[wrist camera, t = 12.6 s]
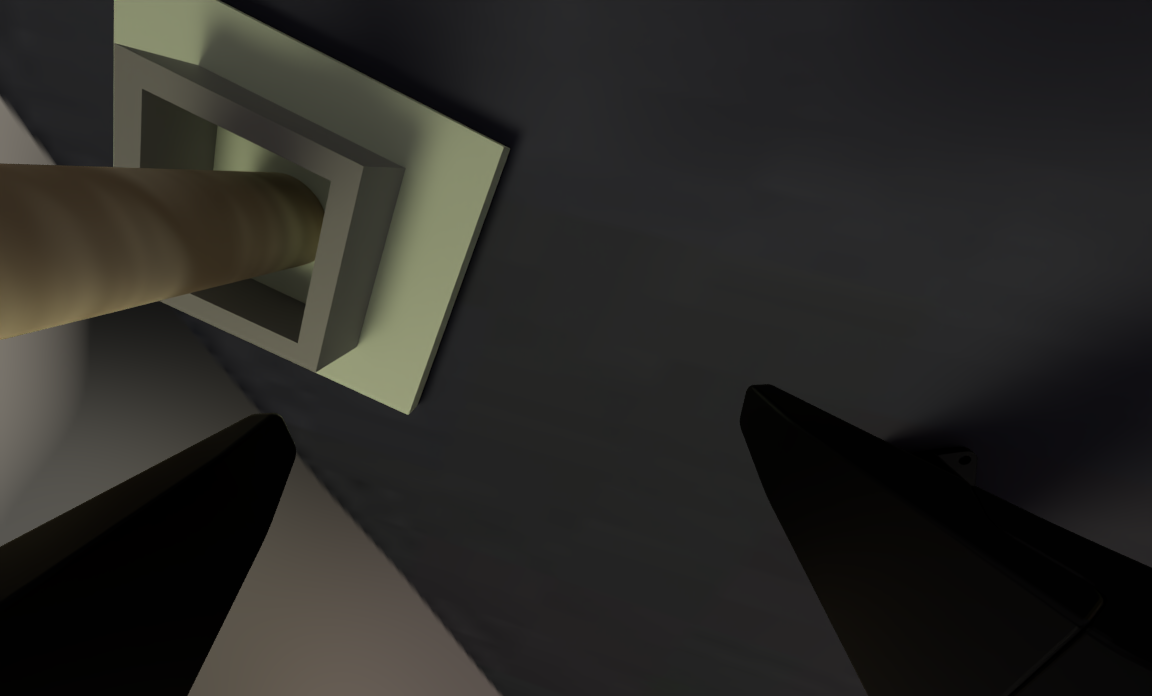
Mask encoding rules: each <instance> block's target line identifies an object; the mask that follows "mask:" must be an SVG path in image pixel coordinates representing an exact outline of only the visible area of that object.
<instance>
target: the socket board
mask: <svg viewBox="0 0 1152 696" xmlns="http://www.w3.org/2000/svg"><path fill="white" fill-rule="evenodd" d="M509 151H510V148H508V147H506V146H504V145H502V144H500V143H499V142H497V141H495V140H493V139H491V138H489V137H487V136H485V135H483V134H481V133H479V132H477V131H475V130H473V129H471V128H469V127H467V126H465V125H463V124H461V123H459V122H457V121H455V120H453V119H451V118H449V117H448V116H446V115H444V114H442V113H440V112H438V111H436V110H434V109H432V108H430V107H428V106H426V105H424V104H422V103H420V102H418V101H416V100H414V99H412V98H410V97H408V96H406V95H404V94H402V93H400V92H398V91H396V90H395V89H393V88H391V87H389V86H387V85H385V84H383V83H381V82H379V81H377V80H375V79H373V78H371V77H369V76H367V75H365V74H363V73H361V72H359V71H357V70H355V69H353V68H351V67H349V66H347V65H345V64H344V63H342V62H340V61H338V60H336V59H334V58H332V57H330V56H328V55H326V54H324V53H322V52H320V51H318V50H316V49H314V48H312V47H310V46H308V45H306V44H304V43H302V42H300V41H298V40H296V39H294V38H292V37H291V36H289V35H287V34H285V33H283V32H281V31H279V30H277V29H275V28H273V27H271V26H269V25H267V24H265V23H263V22H261V21H259V20H257V19H255V18H253V17H251V16H249V15H247V14H245V13H243V12H241V11H240V10H238V9H236V8H234V7H232V6H230V5H228V4H226V3H224V2H222V1H220V0H114V167H123V168H154V169H186V170H217V171H248V172H278V173H284V174H287V175H290V176H292V177H295V178H296V179H298V180H300V181H301V182H302V183H304V184H305V185H306V186H307V187H308V188H309V189H310V190H311V191H312V192H313V193H314V194H315V196H316V197H317V198H318V200H319V201H320V203H321V205H322V207H323V209H324V211H325V213H324V218H323V223H322V228H321V233H320V238H319V242H318V247H317V252H316V257H315V261H313V262H311V263H309V264H305V265H302V266H298V267H293V268H289V269H285V270H281V271H277V272H273V273H269V274H265V275H261V276H257V277H253V278H249V279H245V280H241V281H237V282H233V283H229V284H225V285H221V286H217V287H213V288H209V289H205V290H201V291H197V292H192V293H188V294H184V295H180V296H176V297H172V298H168V299H164V300H160V301H161V302H163V303H165V304H167V305H169V306H172V307H174V308H176V309H178V310H180V311H183V312H185V313H187V314H189V315H191V316H193V317H196V318H198V319H200V320H202V321H204V322H206V323H209V324H211V325H213V326H215V327H217V328H220V329H222V330H224V331H226V332H228V333H230V334H233V335H235V336H237V337H239V338H241V339H244V340H246V341H248V342H250V343H252V344H254V345H257V346H259V347H261V348H263V349H265V350H268V351H270V352H272V353H274V354H276V355H278V356H281V357H283V358H285V359H287V360H289V361H291V362H294V363H296V364H298V365H300V366H302V367H305V368H307V369H309V370H311V371H313V372H315V373H318V374H320V375H322V376H324V377H326V378H329V379H331V380H333V381H335V382H337V383H340V384H342V385H344V386H346V387H348V388H350V389H353V390H355V391H357V392H359V393H361V394H364V395H366V396H368V397H370V398H372V399H374V400H377V401H379V402H381V403H383V404H385V405H387V406H390V407H392V408H394V409H396V410H398V411H401V412H403V413H405V414H407V415H409V414H410V413H411V412H412V411H413V410H414V409H415V408H416V407H417V405H418V402H419V400H420V397H421V394H422V391H423V389H424V386H425V383H426V380H427V378H428V375H429V372H430V369H431V367H432V364H433V361H434V358H435V355H436V353H437V350H438V347H439V344H440V342H441V339H442V336H443V333H444V331H445V328H446V325H447V322H448V320H449V317H450V314H451V311H452V309H453V306H454V303H455V300H456V298H457V295H458V292H459V289H460V286H461V284H462V281H463V278H464V275H465V273H466V270H467V267H468V264H469V262H470V259H471V256H472V253H473V251H474V248H475V245H476V242H477V240H478V237H479V234H480V231H481V229H482V226H483V223H484V220H485V217H486V215H487V212H488V209H489V206H490V204H491V201H492V198H493V195H494V193H495V190H496V187H497V184H498V182H499V179H500V176H501V173H502V171H503V168H504V165H505V162H506V160H507V157H508V154H509Z"/></svg>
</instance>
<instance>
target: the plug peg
mask: <svg viewBox="0 0 1152 696" xmlns="http://www.w3.org/2000/svg"><path fill="white" fill-rule="evenodd" d="M324 213H325V211H324V209H323V207H322V205H321V203H320V201H319V200H318V198H317V197H316V196H315V194H314V193H313V192H312V191H311V190H310V189H309V188H308V187H307V186H306V185H305V184H304V183H302V182H301V181H300V180H298V179H296V178H295V177H292V176H290V175H287V174H284V173H278V172H248V171H217V170H186V169H154V168H123V167H92V166H60V165H28V164H0V340H2V339H7V338H11V337H15V336H19V335H23V334H27V333H30V332H35V331H39V330H43V329H47V328H51V327H55V326H59V325H63V324H67V323H71V322H75V321H79V320H83V319H87V318H91V317H95V316H99V315H104V314H107V313H112V312H116V311H120V310H124V309H128V308H132V307H136V306H140V305H144V304H148V303H152V302H156V301H160V300H164V299H168V298H172V297H176V296H180V295H184V294H188V293H192V292H197V291H201V290H205V289H209V288H213V287H217V286H221V285H225V284H229V283H233V282H237V281H241V280H245V279H249V278H253V277H257V276H261V275H265V274H269V273H273V272H277V271H281V270H285V269H289V268H293V267H298V266H302V265H305V264H309V263H311V262H313V261H315V257H316V252H317V247H318V242H319V238H320V233H321V228H322V223H323V218H324Z"/></svg>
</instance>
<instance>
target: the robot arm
mask: <svg viewBox="0 0 1152 696" xmlns="http://www.w3.org/2000/svg"><path fill="white" fill-rule="evenodd" d="M740 426H741V430H742V433H743V435H744V438H745V441H746V443H747V446H748V449H749V451H750V454H751V456H752V459H753V462H754V464H755V467H756V470H757V472H758V475H759V478H760V480H761V483H762V485H763V488H764V490H765V493H766V495H767V497H768V499H769V501H770V504H771V506H772V508H773V510H774V512H775V514H776V516H777V518H778V519H779V521H780V523H781V525H782V527H783V529H784V531H785V533H786V535H787V537H788V539H789V541H790V543H791V545H792V547H793V549H794V551H795V553H796V555H797V557H798V559H799V561H800V563H801V565H802V567H803V569H804V571H805V573H806V575H807V576H808V578H809V580H810V582H811V584H812V586H813V588H814V590H815V592H816V594H817V596H818V598H819V600H820V602H821V604H822V606H823V608H824V610H825V612H826V614H827V616H828V618H829V620H830V622H831V624H832V626H833V628H834V630H835V632H836V634H837V635H838V637H839V639H840V641H841V643H842V645H843V647H844V649H845V651H846V653H847V655H848V657H849V659H850V661H851V663H852V665H853V667H854V669H855V671H856V673H857V675H858V677H859V679H860V681H861V683H862V685H863V687H864V689H865V691H866V693H867V694H868V696H1152V568H1151V567H1149V566H1147V565H1144V564H1142V563H1140V562H1138V561H1135V560H1133V559H1131V558H1129V557H1126V556H1124V555H1122V554H1120V553H1117V552H1115V551H1113V550H1111V549H1108V548H1106V547H1104V546H1102V545H1099V544H1097V543H1095V542H1093V541H1091V540H1088V539H1086V538H1084V537H1082V536H1080V535H1077V534H1075V533H1073V532H1071V531H1069V530H1066V529H1064V528H1062V527H1060V526H1058V525H1055V524H1053V523H1051V522H1049V521H1047V520H1045V519H1043V518H1040V517H1038V516H1036V515H1034V514H1032V513H1030V512H1028V511H1026V510H1024V509H1022V508H1020V507H1018V506H1016V505H1013V504H1011V503H1009V502H1007V501H1005V500H1003V499H1001V498H999V497H997V496H995V495H993V494H991V493H989V492H987V491H985V490H983V489H981V488H979V487H977V486H975V481H976V468H977V456H976V455H975V453H973V452H972V451H971V450H970V449H968V448H966V447H952V448H944V449H937V450H929V451H921V452H914V453H908V452H906V451H904V450H902V449H900V448H898V447H896V446H894V445H892V444H890V443H888V442H886V441H884V440H882V439H880V438H878V437H876V436H874V435H872V434H870V433H868V432H866V431H864V430H862V429H860V428H858V427H856V426H854V425H852V424H849V423H847V422H845V421H843V420H841V419H839V418H837V417H835V416H833V415H831V414H829V413H827V412H825V411H823V410H821V409H819V408H817V407H815V406H813V405H811V404H809V403H807V402H805V401H803V400H801V399H799V398H797V397H795V396H793V395H791V394H789V393H787V392H785V391H783V390H781V389H779V388H777V387H775V386H773V385H770V384H764V385H752V386H750V387H749V388H748V389H747V391H746V395H745V399H744V403H743V407H742V412H741V416H740ZM295 456H296V447H295V444H294V442H293V439H292V437H291V435H290V433H289V431H288V428H287V426H286V424H285V422H284V420H283V418H282V417H281V416H280V415H279V414H277V413H262V414H253V415H250V416H248V417H247V418H244V419H242V420H240V421H239V422H237V423H235V424H233V425H231V426H229V427H227V428H225V429H223V430H222V431H220V432H218V433H216V434H214V435H212V436H210V437H208V438H206V439H204V440H202V441H200V442H199V443H197V444H195V445H193V446H191V447H189V448H187V449H185V450H183V451H182V452H180V453H178V454H176V455H174V456H172V457H170V458H168V459H167V460H164V461H162V462H161V463H159V464H157V465H155V466H153V467H151V468H149V469H147V470H145V471H143V472H141V473H140V474H138V475H136V476H134V477H132V478H130V479H128V480H126V481H125V482H123V483H121V484H119V485H117V486H115V487H113V488H111V489H109V490H107V491H105V492H103V493H101V494H100V495H98V496H96V497H94V498H92V499H90V500H88V501H86V502H84V503H83V504H81V505H79V506H77V507H75V508H73V509H71V510H69V511H67V512H65V513H63V514H62V515H60V516H58V517H56V518H54V519H52V520H50V521H48V522H46V523H44V524H42V525H41V526H39V527H37V528H35V529H33V530H31V531H29V532H27V533H25V534H23V535H22V536H20V537H18V538H16V539H14V540H12V541H10V542H8V543H6V544H4V545H3V546H1V547H0V696H188V694H189V691H190V690H191V687H192V685H193V684H194V681H195V679H196V677H197V675H198V673H199V671H200V669H201V667H202V665H203V663H204V661H205V659H206V657H207V655H208V653H209V651H210V649H211V647H212V645H213V643H214V641H215V639H216V637H217V635H218V633H219V631H220V628H221V627H222V625H223V623H224V620H225V619H226V617H227V614H228V613H229V611H230V609H231V606H232V604H233V602H234V600H235V598H236V596H237V594H238V592H239V590H240V588H241V586H242V584H243V582H244V580H245V578H246V576H247V574H248V572H249V570H250V568H251V566H252V564H253V562H254V560H255V558H256V556H257V554H258V552H259V550H260V548H261V546H262V543H263V541H264V539H265V537H266V535H267V532H268V530H269V527H270V525H271V522H272V520H273V517H274V514H275V511H276V509H277V506H278V504H279V501H280V498H281V496H282V493H283V490H284V487H285V485H286V481H287V479H288V476H289V474H290V471H291V468H292V466H293V463H294V460H295ZM963 456H964V457H963ZM961 457H963V458H962V459H960V458H961Z"/></svg>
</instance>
